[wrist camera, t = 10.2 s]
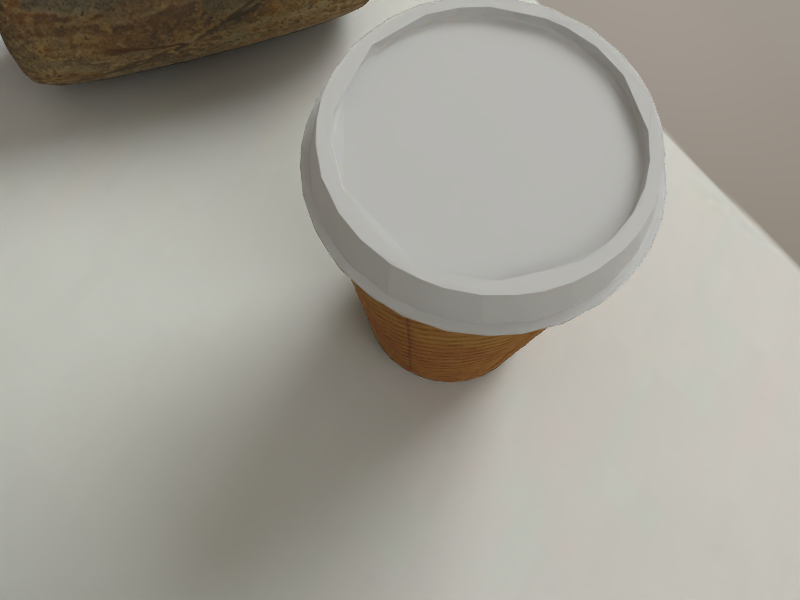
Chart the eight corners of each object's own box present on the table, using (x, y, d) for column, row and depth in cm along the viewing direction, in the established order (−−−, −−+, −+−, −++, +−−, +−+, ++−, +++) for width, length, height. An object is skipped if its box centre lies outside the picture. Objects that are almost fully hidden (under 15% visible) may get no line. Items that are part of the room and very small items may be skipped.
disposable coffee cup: (468, 159, 32) (518, -72, 21) (617, 332, 29) (766, 175, 18) (280, 278, 30) (220, 91, 18) (422, 476, 27) (453, 399, 16)
